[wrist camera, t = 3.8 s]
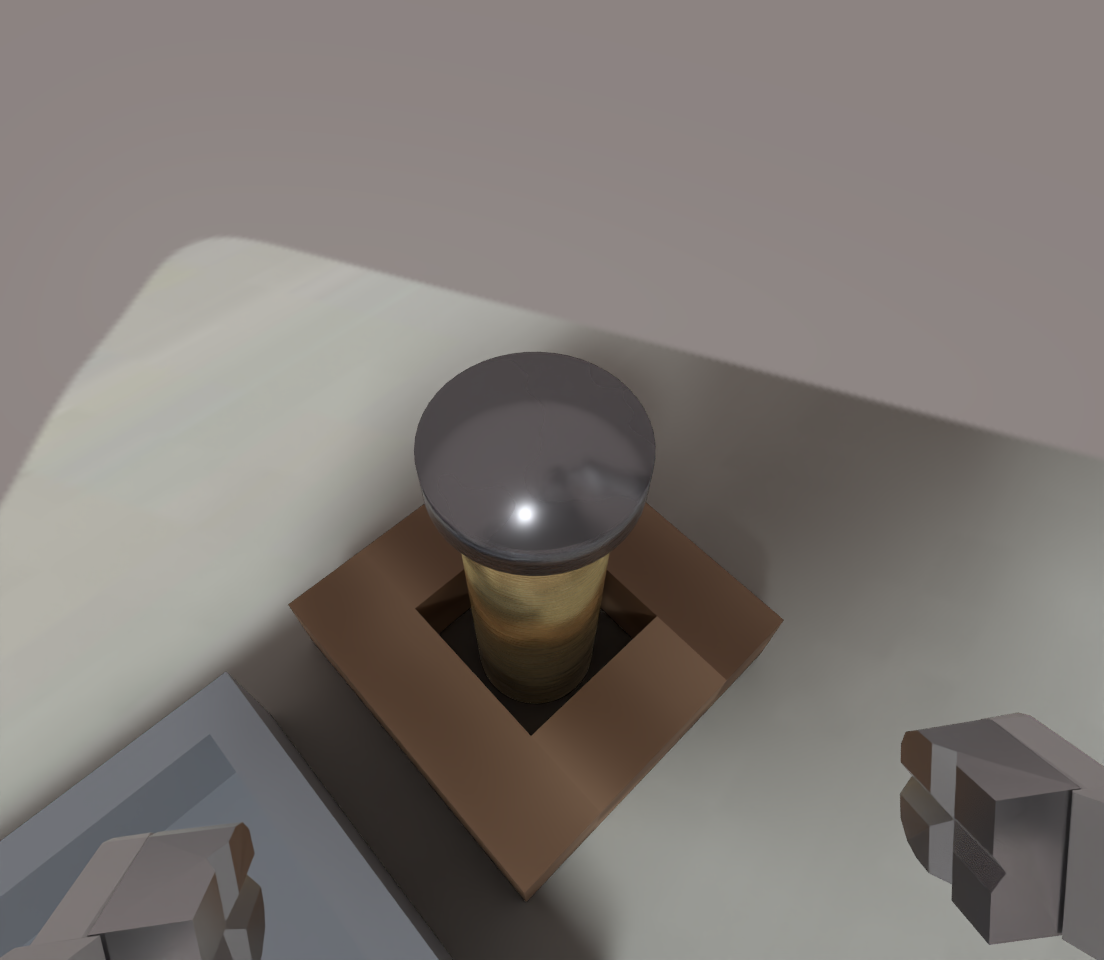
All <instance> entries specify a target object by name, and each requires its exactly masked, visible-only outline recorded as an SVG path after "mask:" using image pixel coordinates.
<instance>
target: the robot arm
mask: <svg viewBox="0 0 1104 960" xmlns="http://www.w3.org/2000/svg"><path fill="white" fill-rule="evenodd" d="M901 763H902V764H903V765H904V767H905V768H906V769H907V770H908V772H909V773H910V774H911V775H912V777H911V778H910V780H909V781H908V783H907V784H906V786H905V787H904V789H903V790H902V792H901V793H900V810H901V821H902V824H903V828H904V831H905V835H906V838H907V841H908V843H909V845H910V847H911V849H912V851H913V852H914V854H915V856H916V858H917V859H918V860H919V862H920V863H921V864H922V865H923V867H924V868H925V869H926V870H927V872H928V873H930V874H932V875H934V876H936V877H938V878H940V879H942V880H944V881H946V882H948V883H950V884H952V902H953V903H954V904H955V905H956V906H957V907H958V909H959V910H960V911H961V912H962V913H963V915H964V916H965V917H966V918H967V919H968V920H969V922H970V923H971V924H972V925H973V926H974V928H975V929H976V930H977V931H978V932H979V933H980V935H981V936H982V937H983V938H984V939H985V941H986V942H987V943H988V944H989V945H991V944H999V943H1006V942H1014V941H1021V940H1029V939H1037V938H1044V937H1052V936H1059V935H1062V939H1063V940H1064V941H1066V942H1068V943H1070V944H1071V945H1073V946H1075V947H1076V948H1078V949H1080V950H1081V951H1083V952H1085V953H1086V954H1088V955H1090V956H1091V957H1093V958H1095V959H1096V960H1104V766H1102V765H1101V764H1100V763H1098V762H1097V761H1095V760H1094V759H1092V758H1091V757H1089V756H1088V755H1087V754H1085V753H1084V752H1082V751H1081V750H1079V749H1078V748H1076V747H1075V746H1074V745H1072V744H1071V743H1069V742H1068V741H1066V740H1065V739H1064V738H1062V737H1061V736H1059V735H1058V734H1056V733H1055V732H1053V731H1052V730H1051V729H1049V728H1048V727H1046V726H1045V725H1043V724H1042V723H1041V722H1039V721H1038V720H1036V719H1035V718H1033V717H1032V716H1030V715H1026V714H1022V713H1013V714H1007V715H1001V716H996V717H990V718H984V719H981V720H976V721H970V722H964V723H957V724H951V725H945V726H939V727H932V728H926V729H920V730H914V731H907V732H906V733H905V735H904V738H903V741H902V743H901ZM254 854H255V852H254V848H253V844H252V839H251V835H250V830H249V828H248V827H247V826H246V825H245V824H244V823H243V822H238V823H230V824H221V825H213V826H204V827H196V828H187V829H178V830H170V831H161V832H157V833H144V834H137V835H130V836H123V837H117V838H112V839H110V840H108V841H105V842H103V843H102V844H101V845H100V847H99V848H98V849H97V851H96V852H95V854H94V855H93V857H92V858H91V859H90V861H89V862H88V864H87V865H86V866H85V868H84V869H83V871H82V872H81V874H80V875H79V876H78V878H77V879H76V881H75V882H74V884H73V885H72V886H71V888H70V889H69V891H68V892H67V893H66V895H65V896H64V898H63V899H62V901H61V902H60V903H59V905H58V906H57V908H56V909H55V910H54V912H53V913H52V915H51V916H50V918H49V919H48V920H47V922H46V923H45V925H44V926H43V928H42V929H41V930H40V932H39V933H38V935H37V936H36V937H35V939H34V940H33V942H32V943H31V945H30V946H24V947H18V948H14V949H12V950H11V951H9V952H8V953H6V954H5V955H3V956H2V957H0V960H261V957H262V951H263V942H264V934H265V911H264V901H263V895H262V890H261V886H260V885H258V884H257V883H256V882H255V881H254V880H253V879H252V878H251V877H249V876H248V875H247V872H248V870H249V867H250V865H251V862H252V859H253V857H254Z"/></svg>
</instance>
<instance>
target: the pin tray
mask: <svg viewBox="0 0 1104 960" xmlns="http://www.w3.org/2000/svg"><path fill="white" fill-rule="evenodd" d="M238 822H243V823H244V824H245V825H246V826H247V827H248V828H249V830H250V835H251V839H252V844H253V848H254V852H255V854H254V857H253V859H252V862H251V865H250V867H249V870H248V872H247V875H248V876H249V877H251V878H252V879H253V880H254V881H255V882H256V883H257V884H258V885H260V886H261V890H262V895H263V901H264V911H265V934H264V942H263V951H262V957H261V960H453V959H452V957H451V956H450V955H449V953H448V952H447V951H446V949H445V948H444V946H443V945H442V944H441V942H440V941H439V940H438V938H437V937H436V936H435V934H434V933H433V932H432V930H431V929H430V928H429V926H428V925H427V924H426V922H425V921H424V920H423V918H422V917H421V916H420V914H419V913H418V912H417V910H416V909H415V908H414V906H413V905H412V904H411V902H410V901H409V900H408V898H407V897H406V896H405V894H404V893H403V892H402V890H401V889H400V887H399V886H398V885H397V883H396V882H395V881H394V879H393V878H392V877H391V875H390V874H389V873H388V871H387V870H386V869H385V867H384V866H383V865H382V863H381V862H380V861H379V859H378V858H377V857H376V855H375V854H374V853H373V851H372V850H371V849H370V847H369V846H368V845H367V843H366V842H365V841H364V839H363V838H362V837H361V835H360V834H359V833H358V831H357V830H356V829H355V827H354V826H353V824H352V823H351V822H350V820H349V819H348V818H347V816H346V815H345V814H344V812H343V811H342V810H341V808H340V807H339V806H338V804H337V803H336V802H335V800H334V799H333V798H332V796H331V795H330V794H329V792H328V791H327V790H326V788H325V787H324V786H323V784H322V783H321V782H320V780H319V779H318V778H317V776H316V775H315V774H314V772H313V771H312V770H311V768H310V767H309V765H308V764H307V763H306V761H305V760H304V759H303V757H302V756H301V755H300V753H299V752H298V751H297V749H296V748H295V747H294V745H293V744H292V743H291V741H290V740H289V739H288V737H287V736H286V735H285V733H284V732H283V731H282V729H281V728H280V727H279V725H278V724H277V723H276V721H275V720H274V719H273V717H272V716H271V715H270V714H269V713H268V712H267V711H266V710H265V709H264V708H263V707H262V706H261V705H260V704H259V703H258V702H257V701H256V700H255V699H254V698H253V697H252V696H251V695H250V694H249V693H248V692H247V691H246V690H245V689H244V688H243V687H242V686H241V685H240V684H239V683H238V682H237V681H236V680H234V679H233V678H232V677H231V676H230V675H229V674H228V673H227V672H225V673H223V674H222V675H221V676H219V677H218V678H217V679H215V680H214V681H213V682H211V683H210V684H209V685H207V686H206V687H205V688H203V689H202V690H201V691H199V692H198V693H197V694H195V695H194V696H193V697H191V698H190V699H189V700H187V701H186V702H185V703H183V704H182V705H181V706H179V707H178V708H177V709H175V710H174V711H173V712H171V713H170V714H169V715H167V716H166V717H165V718H163V719H162V720H161V721H159V722H158V723H157V724H155V725H154V726H153V727H151V728H150V729H149V730H147V731H146V732H145V733H143V734H142V735H141V736H139V737H138V738H137V739H136V740H134V741H133V742H132V743H130V744H129V745H128V746H126V747H125V748H124V749H122V750H121V751H120V752H118V753H117V754H116V755H114V756H113V757H112V758H110V759H109V760H108V761H106V762H105V763H104V764H102V765H101V766H100V767H98V768H97V769H96V770H94V771H93V772H92V773H90V774H89V775H88V776H86V777H85V778H84V779H82V780H81V781H80V782H78V783H77V784H76V785H74V786H73V787H72V788H70V789H69V790H68V791H66V792H65V793H64V794H62V795H61V796H60V797H58V798H57V799H56V800H54V801H53V802H52V803H50V804H49V805H48V806H46V807H45V808H44V809H42V810H41V811H40V812H38V813H37V814H36V815H34V816H33V817H32V818H30V819H29V820H28V821H26V822H25V823H24V824H22V825H21V826H20V827H18V828H17V829H16V830H14V831H13V832H12V833H10V834H9V835H8V836H6V837H5V838H4V839H2V840H1V841H0V957H2V956H3V955H5V954H6V953H8V952H9V951H11V950H12V949H14V948H18V947H24V946H30V945H31V943H32V942H33V940H34V939H35V937H36V936H37V935H38V933H39V932H40V930H41V929H42V928H43V926H44V925H45V923H46V922H47V920H48V919H49V918H50V916H51V915H52V913H53V912H54V910H55V909H56V908H57V906H58V905H59V903H60V902H61V901H62V899H63V898H64V896H65V895H66V893H67V892H68V891H69V889H70V888H71V886H72V885H73V884H74V882H75V881H76V879H77V878H78V876H79V875H80V874H81V872H82V871H83V869H84V868H85V866H86V865H87V864H88V862H89V861H90V859H91V858H92V857H93V855H94V854H95V852H96V851H97V849H98V848H99V847H100V845H101V844H102V843H103V842H105V841H108V840H110V839H112V838H117V837H123V836H130V835H137V834H144V833H157V832H161V831H170V830H178V829H187V828H196V827H204V826H213V825H221V824H230V823H238Z"/></svg>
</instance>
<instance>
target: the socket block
mask: <svg viewBox="0 0 1104 960" xmlns="http://www.w3.org/2000/svg"><path fill="white" fill-rule="evenodd" d="M288 605H289V607H290V608H291V609H292V611H293V612H294V614H295V615H296V617H297V618H298V620H299V621H300V623H301V624H302V626H303V627H304V629H305V630H306V632H307V633H308V635H309V636H310V638H311V639H312V641H313V642H314V643H315V644H316V645H317V647H318V648H319V649H320V650H321V652H322V653H323V654H324V655H325V657H326V658H327V659H328V660H329V661H330V663H331V664H332V665H333V666H334V668H335V669H336V670H337V671H338V672H339V674H340V675H341V676H342V677H343V679H344V680H345V681H346V682H347V683H348V685H349V686H350V687H351V688H352V690H353V691H354V692H355V693H356V695H357V696H358V697H359V698H360V699H361V701H362V702H363V703H364V704H365V706H366V707H367V708H368V709H369V710H370V712H371V713H372V714H373V715H374V717H375V718H376V719H377V720H378V721H379V723H380V724H381V725H382V726H383V728H384V729H385V730H386V731H387V733H388V734H389V735H390V736H391V737H392V739H393V740H394V741H395V742H396V744H397V745H398V746H399V747H400V748H401V750H402V751H403V752H404V753H405V755H406V756H407V757H408V758H409V759H410V761H411V762H412V763H413V764H414V766H415V767H416V768H417V769H418V771H419V772H420V773H421V774H422V775H423V777H424V778H425V779H426V780H427V782H428V783H429V784H430V785H431V786H432V788H433V789H434V790H435V791H436V793H437V794H438V795H439V796H440V797H441V799H442V800H443V801H444V802H445V804H446V805H447V806H448V807H449V809H450V810H451V811H452V812H453V813H454V815H455V816H456V817H457V818H458V820H459V821H460V822H461V823H462V824H463V826H464V827H465V828H466V829H467V831H468V832H469V833H470V834H471V835H472V837H473V838H474V839H475V840H476V842H477V843H478V844H479V845H480V847H481V848H482V849H483V850H484V851H485V853H486V854H487V855H488V856H489V858H490V859H491V860H492V861H493V862H494V864H495V865H496V866H497V867H498V869H499V870H500V871H501V872H502V873H503V875H504V876H505V877H506V878H507V880H508V881H509V882H510V883H511V885H512V886H513V887H514V888H515V889H516V891H517V892H518V893H519V894H520V896H521V897H522V898H523V899H524V900H525V902H527V901H528V900H529V899H530V898H531V897H532V895H533V894H534V893H535V892H536V891H537V890H538V889H539V888H540V887H541V886H542V885H543V884H544V883H545V882H546V881H547V880H548V878H549V877H550V876H551V875H552V874H553V873H554V872H555V871H556V870H557V869H558V868H559V867H560V866H561V865H562V864H563V863H564V862H565V860H566V859H567V858H568V857H569V856H570V855H571V854H572V853H573V852H574V851H575V850H576V849H577V848H578V847H579V846H580V845H581V844H582V842H583V841H584V840H585V839H586V838H587V837H588V836H589V835H590V834H591V833H592V832H593V831H594V830H595V829H596V828H597V827H598V825H599V824H600V823H601V822H602V821H603V820H604V819H605V818H606V817H607V816H608V815H609V814H610V813H611V812H612V811H613V810H614V809H615V807H616V806H617V805H618V804H619V803H620V802H621V801H622V800H623V799H624V798H625V797H626V796H627V795H628V794H629V793H630V792H631V790H632V789H633V788H634V787H635V786H636V785H637V784H638V783H639V782H640V781H641V780H642V779H643V778H644V777H645V776H646V775H647V774H648V772H649V771H650V770H651V769H652V768H653V767H654V766H655V765H656V764H657V763H658V762H659V761H660V760H661V759H662V758H663V757H664V755H665V754H666V753H667V752H668V751H669V750H670V749H671V748H672V747H673V746H674V745H675V744H676V743H677V742H678V741H679V740H680V739H681V737H682V736H683V735H684V734H685V733H686V732H687V731H688V730H689V729H690V728H691V727H692V726H693V725H694V724H695V723H696V722H697V721H698V719H699V718H700V717H701V716H702V715H703V714H704V713H705V712H706V711H707V710H708V709H709V708H710V707H711V706H712V705H713V704H714V702H715V701H716V700H717V699H718V698H719V697H720V696H721V695H722V694H723V693H724V692H725V691H726V690H727V689H728V688H729V687H730V686H731V684H732V683H733V682H734V681H735V680H736V679H737V678H738V677H739V676H740V675H741V674H742V673H743V672H744V671H745V670H746V669H747V667H748V666H749V665H750V664H751V663H752V662H753V661H754V660H755V659H756V658H757V657H758V656H759V655H760V654H761V652H762V651H763V649H764V648H765V646H766V645H767V643H768V642H769V641H770V639H771V638H772V636H773V635H774V633H775V632H776V631H777V629H778V628H779V626H780V625H781V623H782V622H783V619H782V618H781V617H780V616H779V615H777V614H776V613H775V612H774V611H773V610H771V609H770V608H769V607H768V606H767V605H766V604H764V603H763V602H762V601H761V600H760V599H759V598H757V597H756V596H755V595H754V594H753V593H752V592H750V591H749V590H748V589H747V588H746V587H745V586H743V585H742V584H741V583H740V582H739V581H737V580H736V579H735V578H734V577H733V576H732V575H730V574H729V573H728V572H727V571H726V570H725V569H723V568H722V567H721V566H720V565H719V564H718V563H716V562H715V561H714V560H713V559H712V558H711V557H709V556H708V555H707V554H706V553H705V552H703V551H702V550H701V549H700V548H699V547H698V546H696V545H695V544H694V543H693V542H692V541H691V540H689V539H688V538H687V537H686V536H685V535H684V534H682V533H681V532H680V531H679V530H678V529H677V528H675V527H674V526H673V525H672V524H671V523H669V522H668V521H667V520H666V519H665V518H664V517H662V516H661V515H660V514H659V513H658V512H657V511H655V510H654V509H653V508H652V507H651V506H650V505H648V504H647V503H645V506H644V508H643V511H642V514H641V516H640V518H639V520H638V522H637V523H636V525H635V527H634V528H633V529H632V531H631V532H630V533H629V535H628V536H627V537H626V538H625V539H624V540H623V541H622V542H621V543H620V544H619V545H618V546H617V547H616V548H615V549H614V550H612V551H611V552H610V553H609V559H608V565H607V571H606V577H605V582H604V588H603V594H602V600H601V606H600V608H601V609H602V610H603V611H605V612H606V613H607V614H608V615H609V616H610V617H611V618H612V619H613V620H614V621H615V622H616V623H617V624H618V625H619V626H620V627H621V628H622V629H623V630H624V631H625V632H627V633H628V634H629V635H630V636H631V637H632V638H633V639H632V640H631V641H630V642H629V643H628V644H627V645H626V646H625V647H624V648H623V649H622V650H621V651H620V652H619V653H618V654H617V655H616V656H615V657H614V658H613V659H611V660H610V661H609V662H608V663H607V664H606V665H605V666H604V667H603V668H602V669H601V670H600V671H599V672H598V673H597V674H596V675H595V676H594V677H593V678H591V679H590V680H589V681H588V682H587V683H586V684H585V685H584V686H583V687H582V688H581V689H580V690H579V691H578V692H577V693H576V694H575V695H574V696H573V697H572V698H570V699H569V700H568V701H567V702H566V703H565V704H564V705H563V706H562V707H561V708H560V709H559V710H558V711H557V712H556V713H555V714H554V715H553V716H552V717H550V718H549V719H548V720H547V721H546V722H545V723H544V724H543V725H542V726H541V727H540V728H539V729H538V730H537V731H536V732H535V733H534V734H533V735H532V736H530V735H529V733H528V732H527V731H526V730H525V729H524V728H523V727H522V726H521V725H520V724H519V722H518V721H517V720H516V719H515V718H514V717H513V716H512V715H511V714H510V713H509V711H508V710H507V709H506V708H505V707H504V706H503V705H502V704H501V703H500V702H499V700H498V699H497V698H496V697H495V696H494V695H493V694H492V693H491V692H490V691H489V689H488V688H487V687H486V686H485V685H484V684H483V683H482V682H481V681H480V680H479V678H478V677H477V676H476V675H475V674H474V673H473V672H472V671H471V670H470V669H469V668H468V666H467V665H466V664H465V663H464V662H463V661H462V660H461V659H460V658H459V657H458V655H457V654H456V653H455V652H454V651H453V650H452V649H451V648H450V647H449V646H448V644H447V643H446V642H445V641H444V640H443V639H442V638H441V637H440V636H439V635H438V634H439V633H440V632H441V631H443V630H444V629H445V628H446V627H448V626H449V625H450V624H451V623H452V622H454V621H455V620H456V619H457V618H458V617H460V616H461V615H462V614H463V613H464V612H466V611H467V610H468V609H469V608H470V607H471V604H470V598H469V593H468V587H467V582H466V576H465V571H464V565H463V559H462V554H461V553H460V552H459V551H457V550H456V549H455V548H454V547H453V546H452V545H451V544H449V543H448V542H447V541H446V540H445V538H444V537H443V536H442V535H441V534H440V532H439V531H438V530H437V528H436V527H435V525H434V523H433V522H432V520H431V518H430V516H429V514H428V511H427V509H426V506H425V504H424V505H422V506H421V507H419V508H418V509H417V510H415V511H414V512H413V513H411V514H410V515H409V516H407V517H406V518H405V519H403V520H402V521H401V522H399V523H398V524H396V525H395V526H394V527H392V528H391V529H390V530H388V531H387V532H386V533H384V534H383V535H382V536H380V537H379V538H378V539H376V540H375V541H373V542H372V543H371V544H369V545H368V546H367V547H365V548H364V549H363V550H361V551H360V552H359V553H357V554H356V555H355V556H353V557H352V558H351V559H349V560H348V561H346V562H345V563H344V564H342V565H341V566H340V567H338V568H337V569H336V570H334V571H333V572H332V573H330V574H329V575H328V576H326V577H325V578H323V579H322V580H321V581H319V582H318V583H317V584H315V585H314V586H313V587H311V588H310V589H309V590H307V591H306V592H305V593H303V594H302V595H300V596H299V597H298V598H296V599H295V600H294V601H292V602H291V603H290V604H288Z"/></svg>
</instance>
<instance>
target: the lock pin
mask: <svg viewBox="0 0 1104 960" xmlns="http://www.w3.org/2000/svg"><path fill="white" fill-rule="evenodd" d="M414 455H415V465H416V469H417V473H418V478H419V482H420V486H421V490H422V494H423V498H424V502H425V506H426V509H427V511H428V514H429V516H430V518H431V520H432V522H433V523H434V525H435V527H436V528H437V530H438V531H439V532H440V534H441V535H442V536H443V537H444V538H445V540H446V541H447V542H448V543H449V544H451V545H452V546H453V547H454V548H455V549H456V550H457V551H459V552H460V553H461V554H462V559H463V565H464V571H465V576H466V582H467V587H468V593H469V598H470V604H471V609H472V615H473V620H474V626H475V631H476V637H477V643H478V648H479V654H480V659H481V663H482V667H483V669H484V672H485V674H486V675H487V677H488V679H489V680H490V682H491V683H492V684H493V685H494V686H495V687H496V688H497V689H498V690H499V691H500V692H502V693H503V694H504V695H506V696H508V697H510V698H512V699H514V700H517V701H520V702H525V703H533V704H537V703H547V702H551V701H554V700H557V699H559V698H562V697H564V696H565V695H567V694H568V693H570V692H571V691H572V690H574V689H575V688H576V687H577V686H578V685H579V684H580V683H581V681H582V680H583V678H584V677H585V675H586V673H587V671H588V669H589V666H590V663H591V658H592V653H593V647H594V641H595V635H596V629H597V623H598V617H599V612H600V606H601V600H602V594H603V588H604V582H605V577H606V571H607V565H608V559H609V553H610V552H611V551H612V550H614V549H615V548H616V547H617V546H618V545H619V544H620V543H621V542H622V541H623V540H624V539H625V538H626V537H627V536H628V535H629V533H630V532H631V531H632V529H633V528H634V527H635V525H636V523H637V522H638V520H639V518H640V516H641V514H642V511H643V508H644V506H645V503H646V499H647V495H648V490H649V486H650V481H651V477H652V473H653V468H654V462H655V439H654V432H653V429H652V426H651V422H650V420H649V418H648V415H647V413H646V411H645V409H644V408H643V406H642V405H641V403H640V402H639V400H638V399H637V397H636V396H635V395H634V394H633V393H632V392H631V390H630V389H629V388H628V387H627V386H625V385H624V384H623V383H622V382H621V381H620V380H619V379H617V378H616V377H614V376H613V375H612V374H610V373H609V372H607V371H605V370H603V369H602V368H600V367H598V366H596V365H594V364H591V363H589V362H586V361H584V360H581V359H578V358H574V357H571V356H567V355H562V354H556V353H546V352H523V353H514V354H508V355H503V356H499V357H495V358H492V359H489V360H486V361H483V362H481V363H479V364H476V365H474V366H472V367H470V368H468V369H466V370H465V371H463V372H461V373H460V374H458V375H457V376H455V377H454V378H453V379H451V380H450V381H449V382H447V383H446V384H445V385H444V386H443V387H442V388H441V389H440V390H439V391H438V392H437V393H436V395H435V396H434V397H433V399H432V400H431V401H430V402H429V404H428V406H427V407H426V409H425V411H424V413H423V415H422V417H421V420H420V422H419V424H418V428H417V432H416V436H415V446H414Z"/></svg>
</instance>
